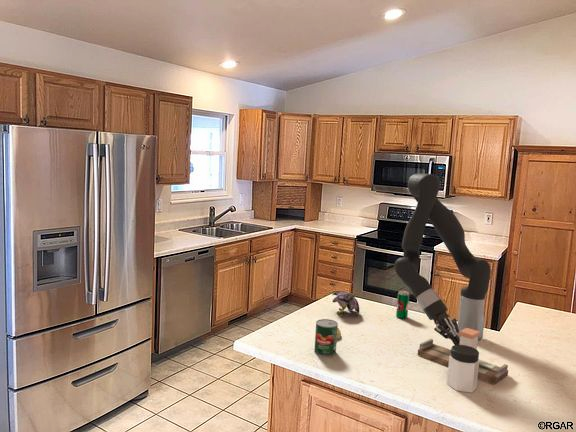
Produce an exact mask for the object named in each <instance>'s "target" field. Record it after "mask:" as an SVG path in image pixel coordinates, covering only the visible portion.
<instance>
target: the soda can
mask: <svg viewBox="0 0 576 432" xmlns="http://www.w3.org/2000/svg"><path fill="white" fill-rule="evenodd" d="M409 304H410V292H409V291H407V290H398V293H397V300H396V313H395V314H396V315H395V316H396V317H397V318H398V319H401V320H406V319H407V318H408V314H409Z"/></svg>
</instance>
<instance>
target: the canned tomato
mask: <svg viewBox="0 0 576 432" xmlns="http://www.w3.org/2000/svg"><path fill="white" fill-rule="evenodd" d="M338 325H339V323H338V322H337V321H336V320H333V319H329V318H324V319H323V318H322V319H318V320H316V322H315V336H314V337H315V338H314V350H313V351H314V353H315V355H317V356H320V357H325V358H326V357H327V358H329V357H333V356H335V355H336V354H337V341H338V339H337V329H338V328H339V327H338Z"/></svg>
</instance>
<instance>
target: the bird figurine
mask: <svg viewBox="0 0 576 432" xmlns="http://www.w3.org/2000/svg"><path fill="white" fill-rule="evenodd" d="M331 295H332V296H335V297H334V298H333V299H332V303H337V304H338V305H339V307H340V308H338V311H337V312H336V313H337V314H336V315H337V316H340V313H341V315H344V310H345V309H346V308H347V310H349V311H353V310H354V312H356V316H357V317H358V316H359V314H360V305H359V302H358V300H357V298H356V297H355V294H354V293H353V292H347V291H344V290H343V291H342V290H338V291H334V292H332V294H331Z"/></svg>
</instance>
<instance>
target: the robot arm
mask: <svg viewBox="0 0 576 432" xmlns="http://www.w3.org/2000/svg"><path fill="white" fill-rule="evenodd" d="M440 184H441V183H440V180H439V178H438V176H436V175H435V174H432V173H422V172H421V173H414V174H412V175H411V176H410V177H409V179H408V181H407V188H408V191H409V193H410V195H411V197H412V198H413V199H414V200H415V201H416V203H417V204H416V207H415V209H414V212H413V213H412V215H411V217H410V219H409V220H408V222H407V224H406V227H405V229H404V232H403V237H402V242H401V249H402V250H403V256H402V257H399V258H397V259H396V260H395V262H394V265H393V267H394V271H395V273H396V275H397V276H398V277H399V279H400V280H401V281H402V282H403V283H404V284H405V285H406V286H407V287H408V288H409V289H410V291H411V292H412V295H414V297H415V299H416V300H417V302H418V304H419V306H420V307H421V309H422V310H423V312H424V314H425V315H426V316H427V318H428V319H429V320H430V321H433V322H434V325H435V326H436V327H434V329H433V330H434V332H437V334H439V335H441V337H443V338H445V340H447V339H449V340H450V341H452V344H453V346H454V345H459V343H460V335H459V331H461V330H463V329H465V328H469V329H473V330H476V331H479V332H480V334H479V336H478V341H477V342H479V341H481V339H483V336H484V327H485V319H486V318H485V315H484V309H485V301H486V295H487V292H488V291H489V286H490V280H491V273H492V270H491V269H492V268H491V265H490V262H489V261H487V260H486V259H483V258H480V257H476V256H474V254H472V252H471V251H470V250H469V248H468V246H467V244H466V239H465V238H466V235H465V230H464V228H463V226H462V224H461V223H460V221H459V219H458V218H457V216H456V215H455V214H454V213H453V212H452V211H451V210H450V208H448V207H447V206H446V205H444V204H443V203H442V201H440V200H439V199H438V195H439V192H440V186H441V185H440ZM428 220H429V222H430V223H431V224H432V226H433V228H434V230H435V231H436V233H437V235H438V236H439V238H440V239H441V241H442V242H443V244H444V245H445V247H446V249H447V250H448V252H449V253H450V255H451V257H452V259H453V261H454V263H455V264H456V267H457V269H458V271H459V273H460V274H461V275H462V276H463V277H465V278H467V279H469V280H468V285H467V286H464V287H463V286H462V287H461V289H460V294H459V295H460V296H459V307H458V318H457V319H456V318H451V316H450V315H449V314H448V313H447V312H448V310H449V309H448V307H447V306H446V304H445V302H444V301H443V300H442V299H441V297H440V295H438V293H437V292H436V291H435V290H434V288H433V287H432V286H431V284H430V282H429V281H428V280H427V278H426V277H424V276H422V275H421V274H420V273H419V272H418V270H419V267H420V262H421V247H422V243H423V238H424V233H425V229H426V225H427V222H428Z"/></svg>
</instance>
